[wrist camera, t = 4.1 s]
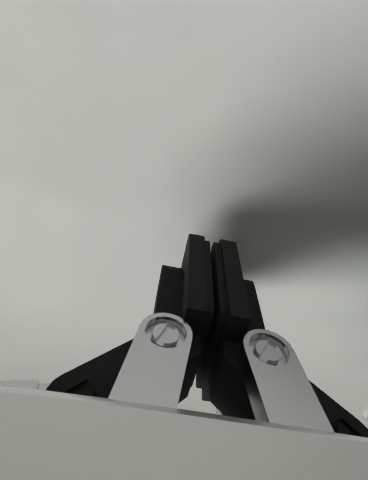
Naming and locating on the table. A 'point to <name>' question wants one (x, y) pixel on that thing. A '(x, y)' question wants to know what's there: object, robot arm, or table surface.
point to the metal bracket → (365, 413)
